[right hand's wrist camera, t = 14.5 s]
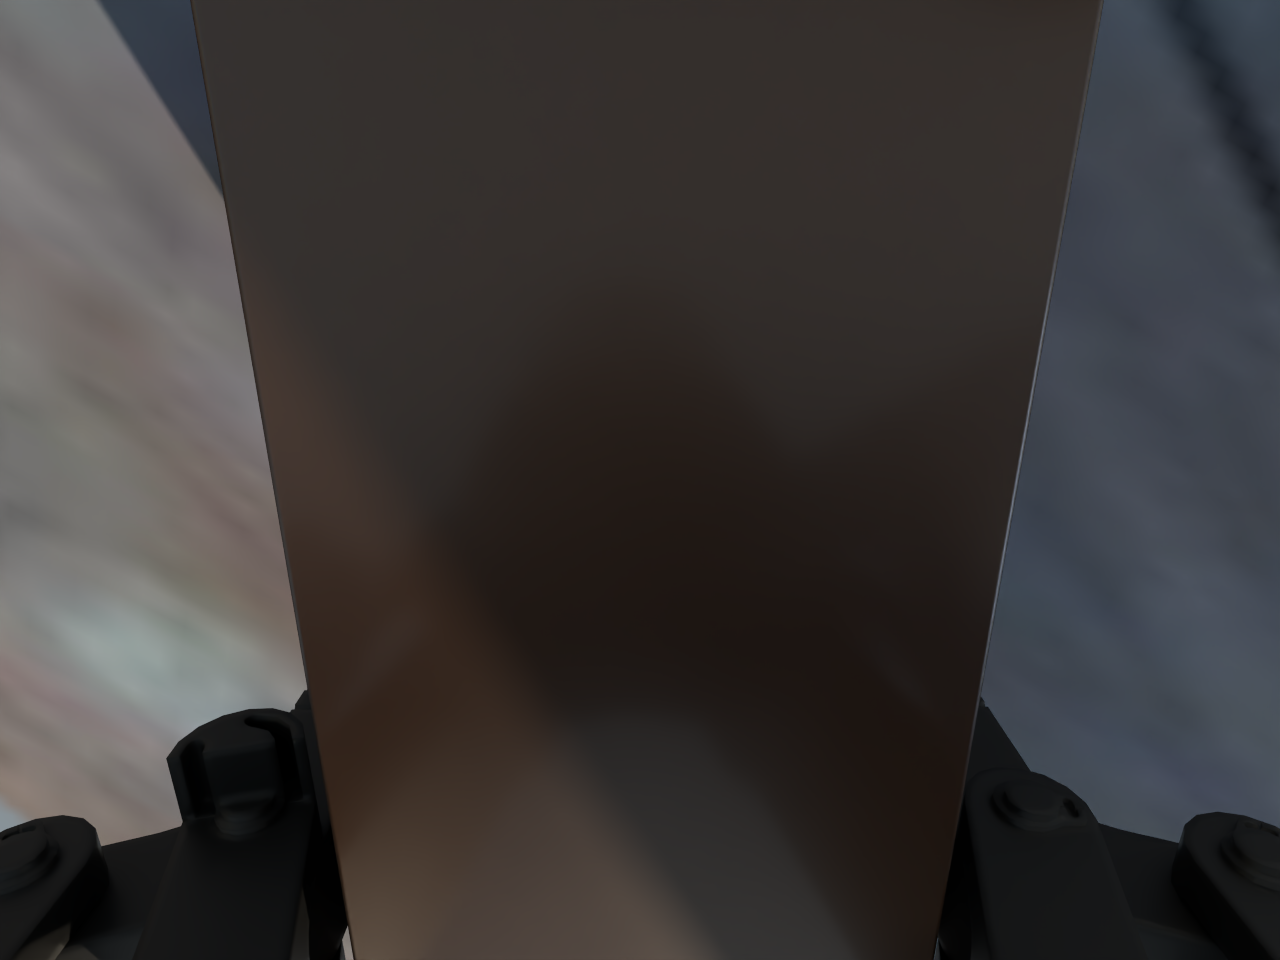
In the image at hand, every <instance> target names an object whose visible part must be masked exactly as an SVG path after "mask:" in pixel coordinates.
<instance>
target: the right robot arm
mask: <svg viewBox="0 0 1280 960" xmlns="http://www.w3.org/2000/svg"><path fill="white" fill-rule="evenodd" d="M166 759H167V763H168V767H169V770H170V774H171V778H172V782H173V786H174V790H175V794H176V797H177V801H178V805H179V809H180V813H181V817H182V820H183V823H182V825H181V826H180V827H177V828H174V829H170V830H167V831H164V832H161V833H157V834H152V835H148V836H144V837H140V838H135V839H131V840H127V841H122V842H118V843H114V844H110V845H105V846H101V844H100V841H99V838H98V835H97V832H96V828H94V827H93V826H92V825H91V824H90V823H89V822H87V821H86V820H85V819H84V818H78V817H71V816H65V815H60V816H53V817H46V818H39V819H34V820H31V821H29V822H26V823H23V824H20V825H17V826H14V827H11V828H9V829H6V830H4V831H2V832H0V960H345V953H344V948H343V942H342V939H343V936H344V934H345V931H346V928H347V926H348V923H347V917H346V911H345V905H344V900H343V894H342V888H341V882H340V876H339V870H338V864H337V858H336V853H335V847H334V841H333V835H332V829H331V823H330V817H329V812H328V806H327V800H326V794H325V788H324V782H323V776H322V770H321V765H320V759H319V753H318V747H317V741H316V735H315V729H314V723H313V718H312V712H311V706H310V700H309V694H308V688H307V690H304V692H303V693H302V695H301V697H300V698H299V700H298V701H297V703H296V704H295V709H294V710H291V712H290V713H289V712H285V711H281V710H277V709H274V708H267V709H248V710H244V711H240V712H236V713H232V714H228V715H224V716H221V717H219V718H217V719H215V720H213V721H210V722H208V723H206V724H204V725H202V726H199V727H198V728H196V729H195V730H194V731H192V732H191V733H190V734H188V735H187V736H186V737H184V738H183V739H182V740H180V741H179V742H178V743H177V745H176V746H175V747H174V749H173V750H172V751H171V753H170V754H169V756H168V757H167V758H166ZM934 960H1280V829H1279V828H1277V827H1276V826H1273V825H1270V824H1267V823H1264V822H1261V821H1259V820H1256V819H1253V818H1250V817H1247V816H1244V815H1237V814H1229V813H1222V812H1213V813H1206V814H1200V815H1196V816H1195V817H1194V818H1192V819H1191V820H1190V821H1189V822H1188V823H1186V824H1185V826H1184V829H1183V832H1182V835H1181V839H1180V842H1179V843H1176V842H1171V841H1167V840H1163V839H1158V838H1154V837H1150V836H1145V835H1141V834H1137V833H1132V832H1128V831H1124V830H1120V829H1116V828H1113V827H1110V826H1107V825H1103V824H1100V823H1098V821H1097V820H1096V818H1095V816H1094V815H1093V813H1092V812H1091V810H1090V809H1089V807H1088V805H1087V804H1086V803H1085V802H1084V801H1083V800H1082V799H1081V798H1079V797H1078V796H1077V795H1076V794H1075V793H1073V792H1072V791H1071V790H1070V789H1069V788H1068V787H1066V786H1064V785H1062V784H1060V783H1058V782H1056V781H1054V780H1052V779H1050V778H1049V777H1047V776H1045V775H1042V774H1038V773H1035V772H1031V771H1030V770H1029V768H1028V767H1027V765H1026V764H1025V762H1024V761H1023V759H1022V758H1021V756H1020V755H1019V753H1018V752H1017V750H1016V749H1015V747H1014V746H1013V744H1012V743H1011V741H1010V740H1009V738H1008V737H1007V735H1006V734H1005V732H1004V731H1003V729H1002V728H1001V726H1000V725H999V723H998V722H997V720H996V719H995V717H994V715H993V714H992V712H991V711H990V709H989V708H988V707H985V702H984V700H983V699H982V697H981V696H980V701H979V707H978V713H977V718H976V724H975V729H974V735H973V741H972V746H971V752H970V758H969V763H968V769H967V775H966V780H965V786H964V791H963V797H962V803H961V808H960V814H959V820H958V825H957V831H956V837H955V842H954V848H953V854H952V859H951V865H950V870H949V876H948V882H947V887H946V893H945V899H944V904H943V910H942V916H941V921H940V927H939V932H938V942H937V948H936V953H935V959H934Z"/></svg>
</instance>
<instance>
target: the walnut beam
mask: <svg viewBox="0 0 1280 960" xmlns="http://www.w3.org/2000/svg"><path fill="white" fill-rule="evenodd" d="M190 2H191V7H192V13H193V19H194V25H195V31H196V37H197V43H198V48H199V54H200V60H201V66H202V72H203V78H204V84H205V90H206V95H207V101H208V107H209V113H210V119H211V125H212V131H213V137H214V142H215V148H216V154H217V160H218V166H219V172H220V178H221V183H222V189H223V195H224V201H225V207H226V213H227V219H228V225H229V230H230V236H231V242H232V248H233V254H234V260H235V266H236V272H237V277H238V283H239V289H240V295H241V301H242V307H243V313H244V318H245V324H246V330H247V336H248V342H249V348H250V354H251V360H252V365H253V371H254V377H255V383H256V389H257V395H258V401H259V407H260V412H261V418H262V424H263V430H264V436H265V442H266V448H267V453H268V459H269V465H270V471H271V477H272V483H273V489H274V495H275V500H276V506H277V512H278V518H279V524H280V530H281V536H282V542H283V547H284V553H285V559H286V565H287V571H288V577H289V583H290V588H291V594H292V600H293V606H294V612H295V618H296V624H297V630H298V635H299V641H300V647H301V653H302V659H303V665H304V671H305V677H306V682H307V688H308V694H309V700H310V706H311V712H312V718H313V723H314V729H315V735H316V741H317V747H318V753H319V759H320V765H321V770H322V776H323V782H324V788H325V794H326V800H327V806H328V812H329V817H330V823H331V829H332V835H333V841H334V847H335V853H336V858H337V864H338V870H339V876H340V882H341V888H342V894H343V900H344V905H345V911H346V917H347V923H348V929H349V935H350V941H351V947H352V952H353V958H354V960H934V955H935V949H936V944H937V938H938V932H939V927H940V921H941V916H942V910H943V904H944V899H945V893H946V887H947V882H948V876H949V870H950V865H951V859H952V854H953V848H954V842H955V837H956V831H957V825H958V820H959V814H960V808H961V803H962V797H963V791H964V786H965V780H966V775H967V769H968V763H969V758H970V752H971V746H972V741H973V735H974V729H975V724H976V718H977V713H978V707H979V701H980V696H981V690H982V684H983V679H984V673H985V667H986V662H987V656H988V651H989V645H990V639H991V634H992V628H993V622H994V617H995V611H996V605H997V600H998V594H999V589H1000V583H1001V577H1002V572H1003V566H1004V560H1005V555H1006V549H1007V543H1008V538H1009V532H1010V527H1011V521H1012V515H1013V510H1014V504H1015V498H1016V493H1017V487H1018V481H1019V476H1020V470H1021V465H1022V459H1023V453H1024V448H1025V442H1026V436H1027V431H1028V425H1029V419H1030V414H1031V408H1032V403H1033V397H1034V391H1035V386H1036V380H1037V374H1038V369H1039V363H1040V357H1041V352H1042V346H1043V340H1044V335H1045V329H1046V324H1047V318H1048V312H1049V307H1050V301H1051V295H1052V290H1053V284H1054V278H1055V273H1056V267H1057V262H1058V256H1059V250H1060V245H1061V239H1062V233H1063V228H1064V222H1065V216H1066V211H1067V205H1068V200H1069V194H1070V188H1071V183H1072V177H1073V171H1074V166H1075V160H1076V154H1077V149H1078V143H1079V138H1080V132H1081V126H1082V121H1083V115H1084V109H1085V104H1086V98H1087V92H1088V87H1089V81H1090V76H1091V70H1092V64H1093V59H1094V53H1095V47H1096V42H1097V36H1098V30H1099V25H1100V19H1101V14H1102V8H1103V2H1104V0H190Z"/></svg>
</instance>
